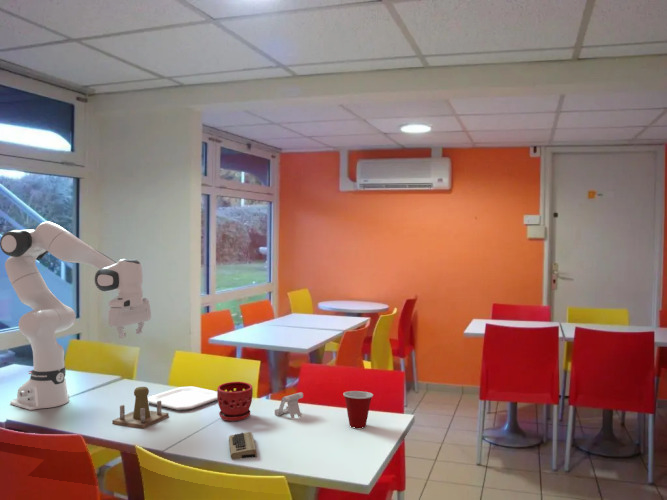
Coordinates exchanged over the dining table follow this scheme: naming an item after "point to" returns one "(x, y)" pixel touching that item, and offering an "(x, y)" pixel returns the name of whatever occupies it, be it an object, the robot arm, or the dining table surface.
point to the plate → (184, 398)
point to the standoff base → (137, 422)
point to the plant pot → (234, 400)
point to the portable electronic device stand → (290, 405)
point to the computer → (242, 446)
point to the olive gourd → (141, 402)
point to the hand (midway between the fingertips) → (130, 335)
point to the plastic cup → (357, 407)
